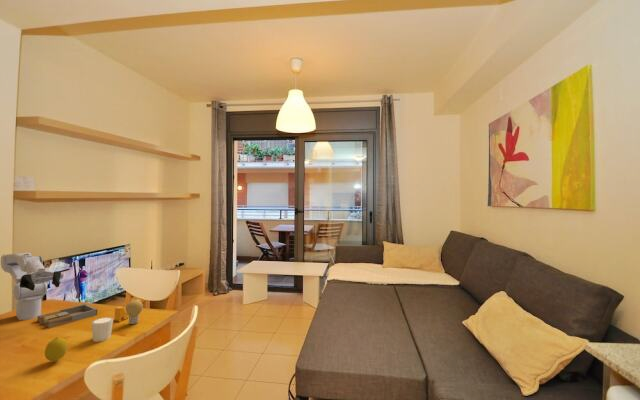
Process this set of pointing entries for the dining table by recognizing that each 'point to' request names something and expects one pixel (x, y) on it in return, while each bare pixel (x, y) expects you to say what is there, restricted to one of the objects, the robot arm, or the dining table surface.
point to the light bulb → (134, 311)
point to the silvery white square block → (62, 314)
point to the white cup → (102, 328)
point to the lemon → (56, 349)
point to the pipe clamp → (121, 313)
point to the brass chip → (49, 318)
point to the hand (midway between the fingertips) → (46, 286)
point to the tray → (89, 309)
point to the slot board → (58, 319)
